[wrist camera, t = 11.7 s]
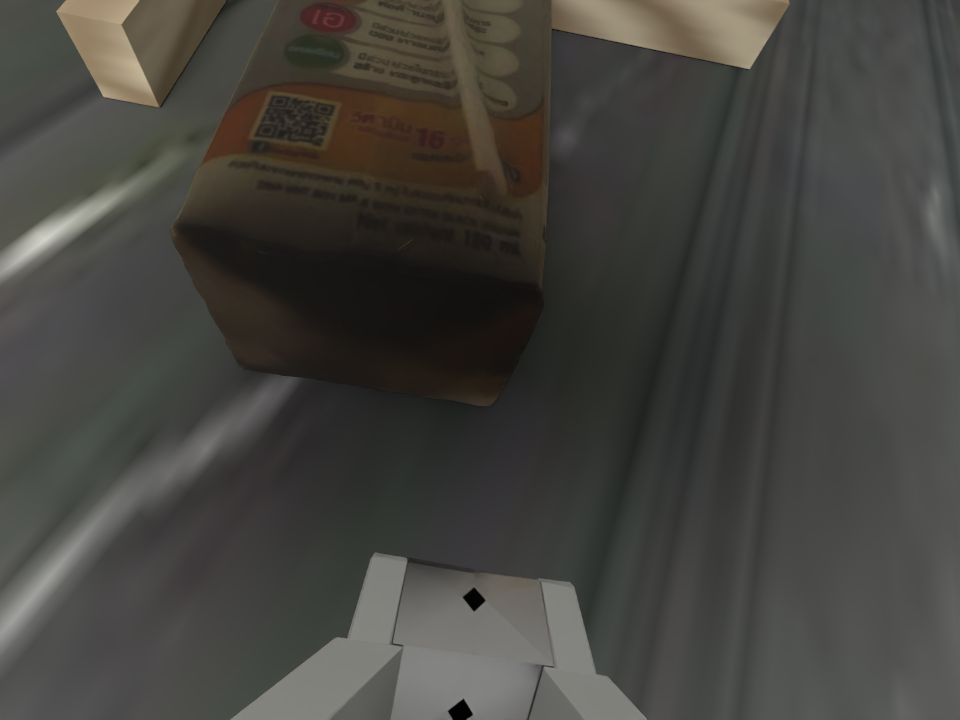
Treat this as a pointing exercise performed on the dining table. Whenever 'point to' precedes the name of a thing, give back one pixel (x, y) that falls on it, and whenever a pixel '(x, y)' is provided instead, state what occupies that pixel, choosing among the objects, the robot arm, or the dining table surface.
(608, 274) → the dining table surface
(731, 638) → the dining table surface
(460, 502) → the dining table surface
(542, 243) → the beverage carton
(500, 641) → the robot arm
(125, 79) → the oak fence
